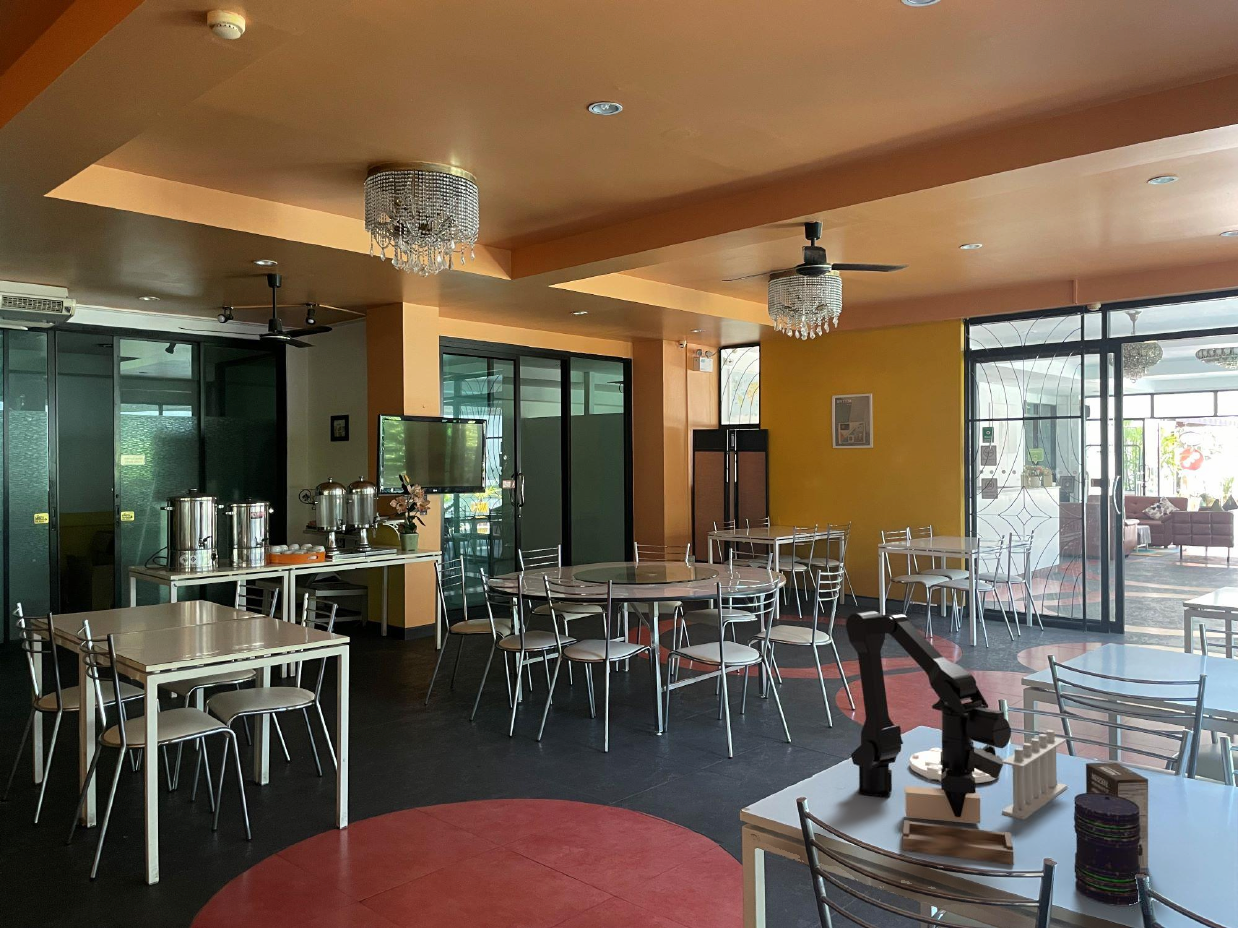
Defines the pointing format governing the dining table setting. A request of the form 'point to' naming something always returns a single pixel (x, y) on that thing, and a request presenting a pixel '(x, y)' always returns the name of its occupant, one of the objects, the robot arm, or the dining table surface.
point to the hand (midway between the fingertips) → (957, 812)
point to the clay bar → (939, 805)
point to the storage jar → (1107, 848)
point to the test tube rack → (1034, 775)
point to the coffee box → (1122, 794)
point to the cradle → (958, 842)
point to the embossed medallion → (938, 766)
